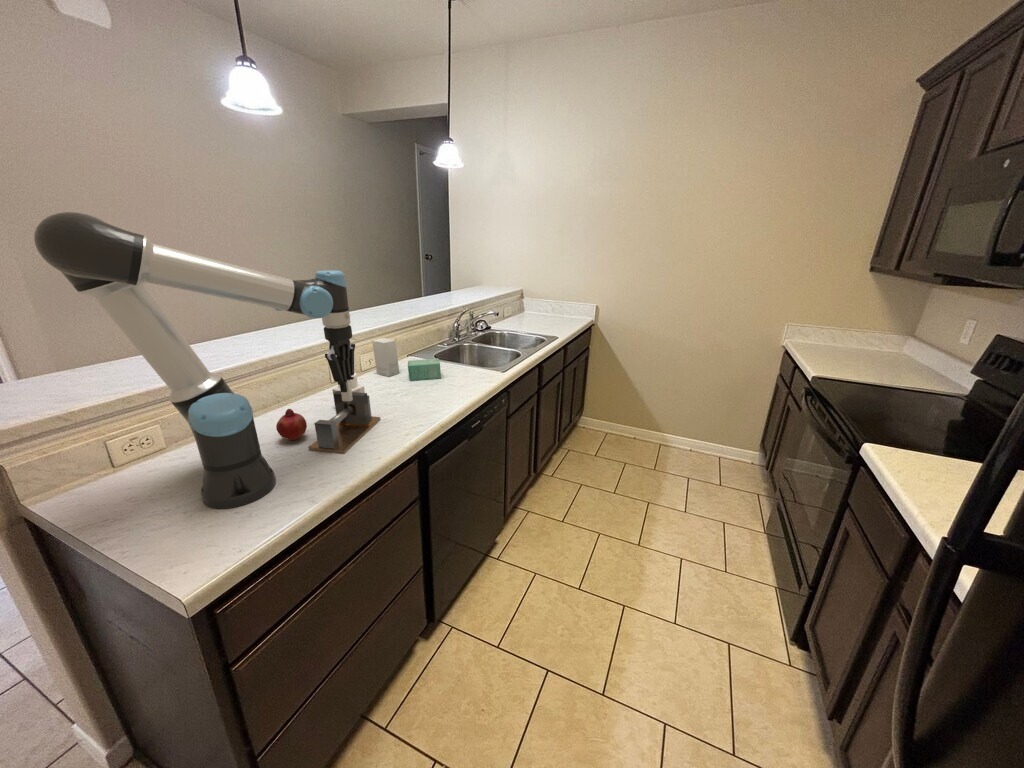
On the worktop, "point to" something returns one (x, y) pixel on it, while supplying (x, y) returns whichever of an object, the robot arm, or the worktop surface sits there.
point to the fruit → (291, 425)
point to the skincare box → (386, 356)
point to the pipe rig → (340, 431)
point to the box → (424, 369)
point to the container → (352, 386)
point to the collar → (361, 408)
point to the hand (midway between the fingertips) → (347, 400)
